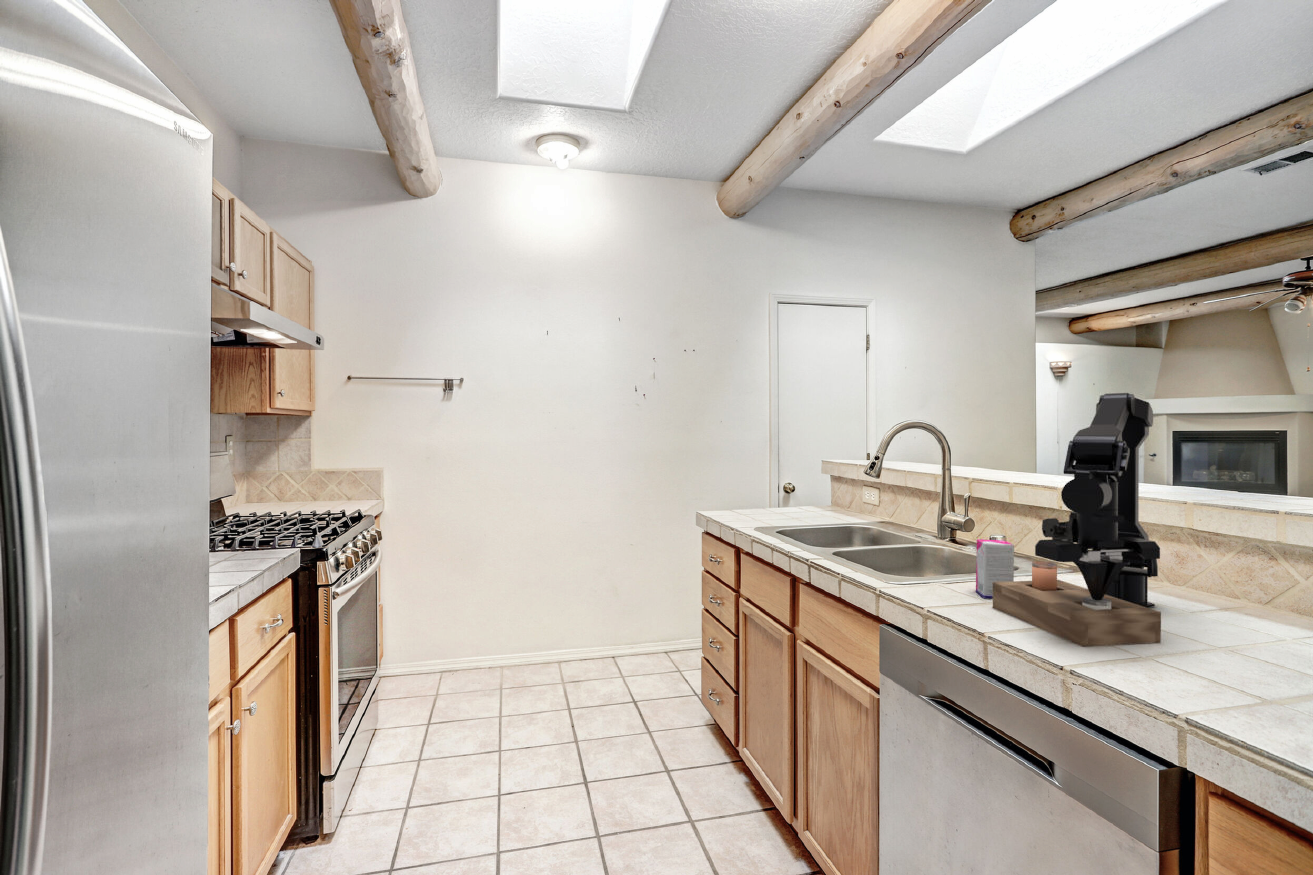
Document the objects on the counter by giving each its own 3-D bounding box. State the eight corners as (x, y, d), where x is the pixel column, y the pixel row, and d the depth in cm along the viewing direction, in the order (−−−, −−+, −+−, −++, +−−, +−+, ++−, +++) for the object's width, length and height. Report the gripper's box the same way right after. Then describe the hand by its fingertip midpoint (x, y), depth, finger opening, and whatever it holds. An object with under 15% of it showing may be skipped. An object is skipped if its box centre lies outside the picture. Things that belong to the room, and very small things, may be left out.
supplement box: (1014, 600, 126) (1014, 544, 126) (983, 598, 127) (983, 543, 127) (1004, 592, 132) (1004, 539, 132) (974, 591, 133) (974, 538, 133)
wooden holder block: (1058, 604, 123) (1058, 579, 123) (1160, 642, 101) (1160, 611, 101) (992, 607, 121) (992, 582, 121) (1082, 646, 99) (1082, 615, 99)
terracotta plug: (1046, 589, 119) (1046, 561, 119) (1062, 594, 115) (1062, 565, 115) (1027, 590, 119) (1027, 561, 118) (1042, 595, 115) (1042, 566, 114)
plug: (1097, 627, 107) (1097, 595, 107) (1117, 635, 103) (1117, 602, 103) (1076, 628, 107) (1076, 596, 107) (1095, 636, 103) (1095, 603, 103)
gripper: (1106, 501, 114) (1106, 585, 114) (1012, 503, 112) (1013, 589, 112) (1163, 509, 103) (1162, 602, 103) (1060, 511, 101) (1060, 607, 101)
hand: (1096, 599), depth 105 cm, fingers closed, pressing on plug
